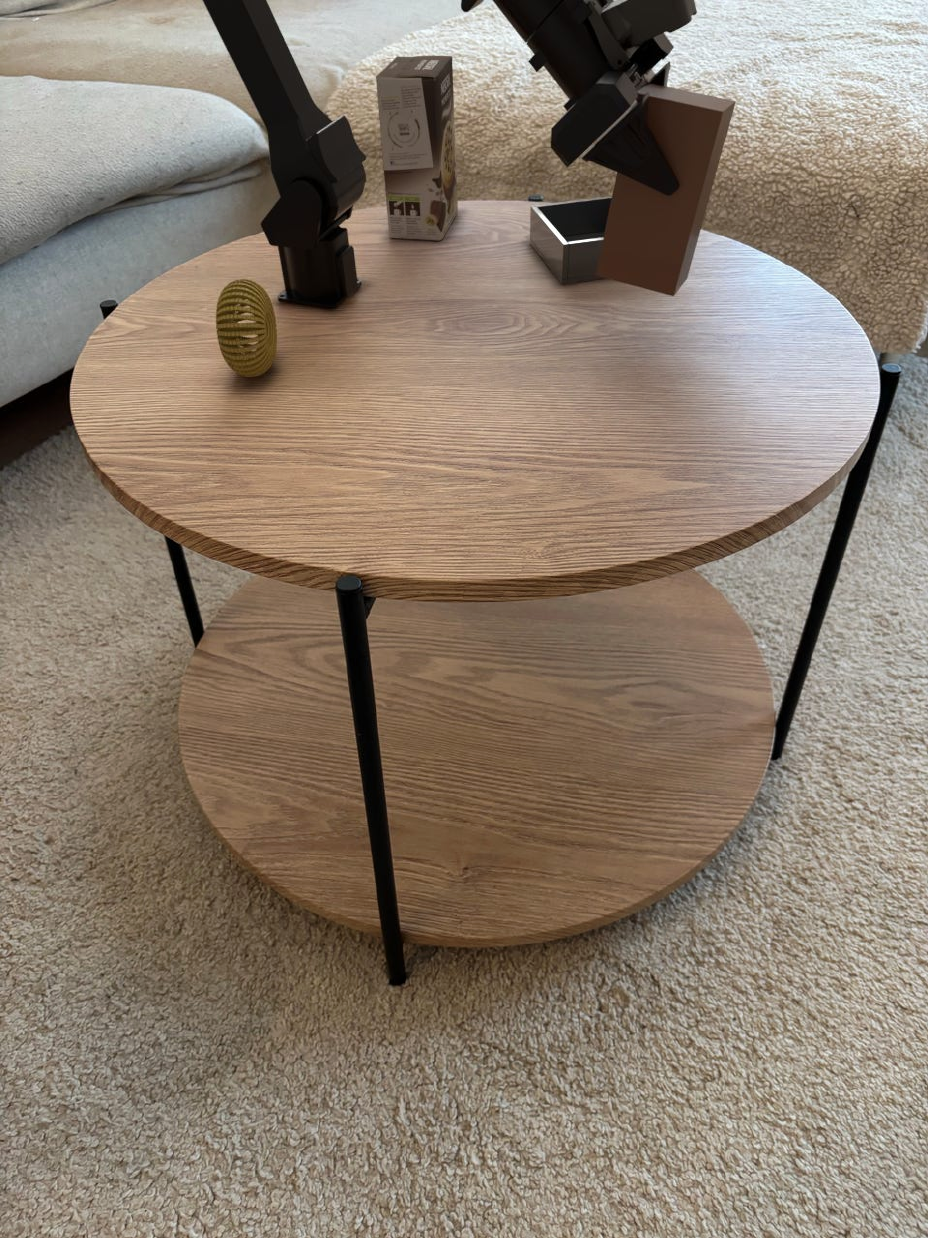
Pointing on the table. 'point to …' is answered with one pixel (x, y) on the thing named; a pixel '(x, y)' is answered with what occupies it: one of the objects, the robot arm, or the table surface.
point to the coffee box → (418, 145)
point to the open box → (570, 236)
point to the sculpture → (246, 328)
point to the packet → (656, 223)
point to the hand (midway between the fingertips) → (680, 179)
